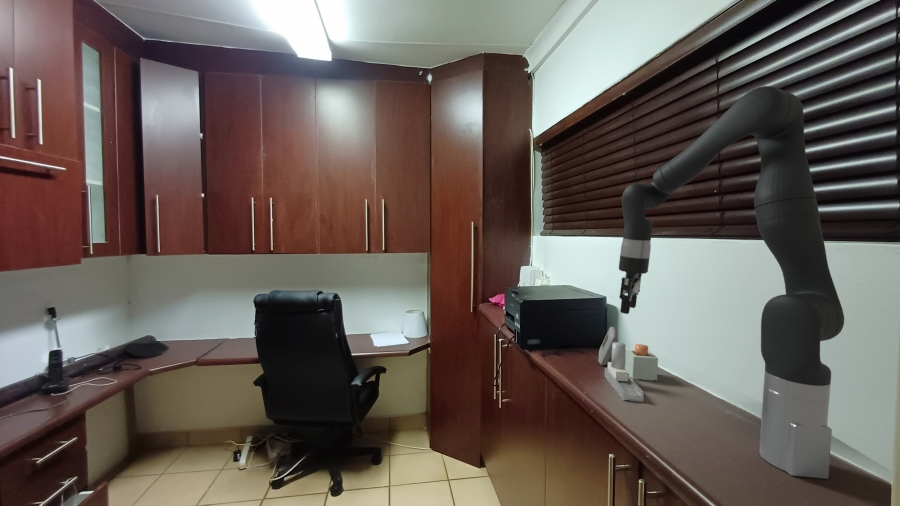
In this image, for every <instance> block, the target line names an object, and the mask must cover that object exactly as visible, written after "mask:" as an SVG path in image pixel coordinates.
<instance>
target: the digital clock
mask: <svg viewBox="0 0 900 506" xmlns="http://www.w3.org/2000/svg"><path fill="white" fill-rule="evenodd" d="M618 340H619V336H618V331H617V328H616V327H614V326H610V327H609V329H608V330H607V332H606V335H605V337H604V339H603V342H602V344H601V345H600V348H599V350H598V360H597V361H598V363H599V364H600V366H606V365H608V362H611V361H612V343H613V342H618Z"/></svg>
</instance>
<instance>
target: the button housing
mask: <svg viewBox="0 0 900 506" xmlns="http://www.w3.org/2000/svg"><path fill="white" fill-rule="evenodd" d="M658 364H659V358H658V357H657V356H656V355H655V354H653V353H652V352H651V351H649V350H648V356H636V355H635V349H625V367H624V368H625V369H626V370H627V371H628V372H629V375H628V376H629V377H630V378H631V377H632V378H633V379H632V378H631V379H632V380H638V379H642V380H641V381H643V380H644V381H653V380H656V382H657V381H658V369H659V368H658V366H659V365H658Z"/></svg>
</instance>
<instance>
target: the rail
mask: <svg viewBox="0 0 900 506" xmlns="http://www.w3.org/2000/svg"><path fill="white" fill-rule="evenodd" d="M604 377H605V379H606V378H607V379H606V380H607V381H608V382H609V384H610V383H611V384H610V385H611V387H614V388H613V389H614V390H615V392H616V391H617V392H618V393H617V392H616V393H617V394H618V395H620V396H621V397H620V398H621V399H622V401H624V400H630V401H629V402H636V403H637V402H639V403H642V402H644V394H645V392H644V391H643V389H642V388H641V387H640V386H639V385H638V384H637V383H636V382H635V381H634V379H632V378H631V377H630V376H629V375H628V382H627V381H617V380H616V378H615V377H614V376H613V375H612V374H611V372H610V371H609V370H608V367H604Z"/></svg>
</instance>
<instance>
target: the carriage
mask: <svg viewBox="0 0 900 506" xmlns="http://www.w3.org/2000/svg"><path fill="white" fill-rule="evenodd" d="M625 355H626V344H625V343H623V342H618V341H617V342H613V343H612V361H611V362H608V364H607V369H608V370H609V371H610V372H611V374H612V375H613V376H614V377H615V378H616V380H617V381H627V382H628V376H629V375H628V374H629V372H628V371H627V370H626V369H625Z"/></svg>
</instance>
